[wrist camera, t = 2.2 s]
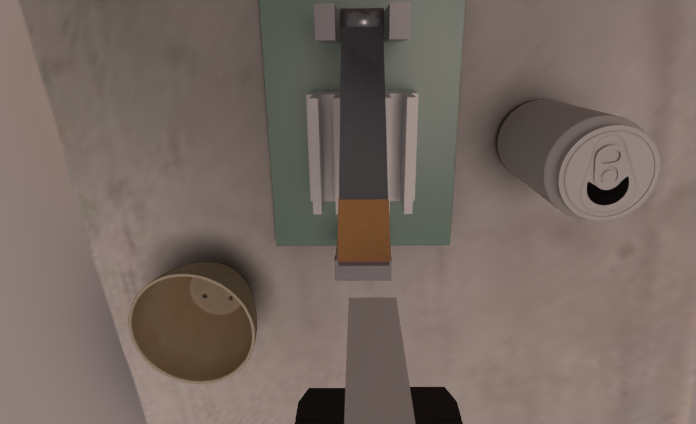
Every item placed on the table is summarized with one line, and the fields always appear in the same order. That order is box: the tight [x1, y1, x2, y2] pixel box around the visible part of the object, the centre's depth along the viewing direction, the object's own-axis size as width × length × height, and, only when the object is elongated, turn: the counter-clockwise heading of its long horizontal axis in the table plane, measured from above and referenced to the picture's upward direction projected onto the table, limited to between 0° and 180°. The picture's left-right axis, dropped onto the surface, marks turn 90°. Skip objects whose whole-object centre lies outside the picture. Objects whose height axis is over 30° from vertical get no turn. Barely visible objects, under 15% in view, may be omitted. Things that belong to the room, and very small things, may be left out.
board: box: [259, 0, 465, 280], centre depth 33 cm, size 20×15×8 cm
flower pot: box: [128, 262, 257, 384], centre depth 39 cm, size 10×10×7 cm
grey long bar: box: [337, 8, 391, 266], centre depth 25 cm, size 16×3×2 cm
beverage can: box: [497, 99, 660, 221], centre depth 32 cm, size 6×6×12 cm
